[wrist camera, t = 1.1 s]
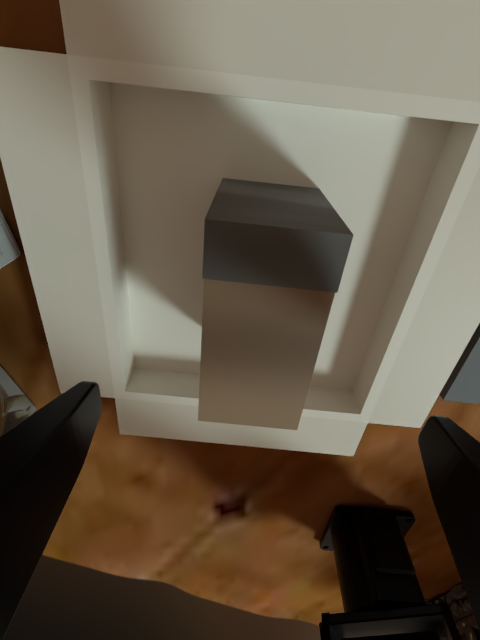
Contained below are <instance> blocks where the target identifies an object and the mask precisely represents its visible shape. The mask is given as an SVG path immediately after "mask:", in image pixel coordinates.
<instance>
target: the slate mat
mask: <svg viewBox="0 0 480 640" xmlns="http://www.w3.org/2000/svg"><path fill="white" fill-rule="evenodd" d="M440 396H441V398H442V399H443V400H446V401H456V402H466V403H476V404H480V323H479V325H478V327H477V328H476V330H475V332H474V334H473V335H472V337H471V339H470V341H469V343H468V344H467V346H466V348H465V350H464V351H463V353H462V355H461V357H460V359H459V360H458V362H457V364H456V366H455V367H454V369H453V371H452V373H451V375H450V376H449V378H448V380H447V382H446V383H445V385H444V387H443V389H442V390H441V392H440Z"/></svg>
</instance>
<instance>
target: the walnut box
mask: <svg viewBox="0 0 480 640" xmlns="http://www.w3.org/2000/svg"><path fill="white" fill-rule="evenodd" d="M352 239H353V233H352V232H351V231H350V229H349V228H348V227H347V225H346V224H345V223H344V221H343V220H342V219H341V217H340V216H339V215H338V213H337V212H336V210H335V209H334V208H333V206H332V205H331V204H330V202H329V201H328V200H327V198H326V197H325V196H324V194H323V193H322V192H321V190H320V189H319V188H310V187H301V186H292V185H283V184H273V183H264V182H255V181H246V180H237V179H228V178H223V179H222V181H221V183H220V185H219V188H218V190H217V192H216V194H215V197H214V199H213V201H212V203H211V206H210V208H209V210H208V212H207V215H206V217H205V223H204V248H203V273H202V279H204V292H203V315H202V338H201V361H200V384H199V406H198V421H206V422H216V423H226V424H237V425H247V426H258V427H268V428H278V429H289V430H297V429H298V425H299V422H300V418H301V414H302V411H303V407H304V404H305V400H306V396H307V393H308V389H309V386H310V382H311V378H312V375H313V371H314V368H315V364H316V360H317V357H318V353H319V349H320V346H321V342H322V339H323V335H324V331H325V328H326V324H327V321H328V317H329V313H330V310H331V306H332V303H333V299H334V295H335V293H337V292H338V289H339V285H340V282H341V278H342V274H343V271H344V267H345V264H346V260H347V257H348V253H349V249H350V246H351V242H352Z"/></svg>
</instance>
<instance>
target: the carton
mask: <svg viewBox="0 0 480 640" xmlns="http://www.w3.org/2000/svg"><path fill="white" fill-rule="evenodd" d="M59 3H60V10H61V17H62V24H63V31H64V39H65V46H66V53H67V54H59V53H51V52H42V51H33V50H25V49H16V48H7V47H0V158H1V162H2V166H3V170H4V174H5V178H6V182H7V186H8V190H9V194H10V197H11V201H12V205H13V209H14V213H15V217H16V221H17V225H18V229H19V233H20V237H21V241H22V244H23V248H24V252H25V256H26V260H27V264H28V268H29V272H30V276H31V280H32V284H33V288H34V291H35V295H36V299H37V303H38V307H39V311H40V315H41V319H42V323H43V327H44V331H45V334H46V338H47V342H48V346H49V350H50V354H51V358H52V362H53V366H54V370H55V374H56V378H57V381H58V385H59V389H60V393H64V392H66V391H67V390H69V389H70V388H72V387H73V386H75V385H76V384H78V383H79V382H81V381H90V382H96V383H98V385H99V389H100V395H101V397H107V398H115V403H116V410H117V418H118V425H119V432H120V434H125V435H135V436H146V437H156V438H167V439H177V440H188V441H198V442H209V443H219V444H230V445H240V446H251V447H261V448H272V449H282V450H293V451H303V452H314V453H324V454H335V455H345V456H354V453H355V451H356V449H357V447H358V444H359V442H360V440H361V437H362V435H363V433H364V430H365V428H366V426H367V424H368V423H374V424H385V425H395V426H405V427H416V428H421V426H422V424H423V422H424V421H425V419H426V417H427V415H428V414H429V412H430V410H431V408H432V406H433V405H434V403H435V401H436V399H437V398H438V396H439V394H440V392H441V390H442V389H443V387H444V385H445V383H446V382H447V380H448V378H449V376H450V375H451V373H452V371H453V369H454V367H455V366H456V364H457V362H458V360H459V359H460V357H461V355H462V353H463V351H464V350H465V348H466V346H467V344H468V343H469V341H470V339H471V337H472V335H473V334H474V332H475V330H476V328H477V327H478V325H479V323H480V0H59ZM223 178H228V179H237V180H246V181H255V182H264V183H273V184H283V185H292V186H301V187H310V188H319V189H320V190H321V192H322V193H323V194H324V196H325V197H326V198H327V200H328V201H329V202H330V204H331V205H332V206H333V208H334V209H335V210H336V212H337V213H338V215H339V216H340V217H341V219H342V220H343V221H344V223H345V224H346V225H347V227H348V228H349V229H350V231H351V232H352V233H353V239H352V242H351V246H350V249H349V253H348V257H347V260H346V264H345V267H344V271H343V274H342V278H341V282H340V285H339V289H338V292H337V293H335V295H334V299H333V303H332V306H331V310H330V313H329V317H328V321H327V324H326V328H325V331H324V335H323V339H322V342H321V346H320V349H319V353H318V357H317V360H316V364H315V368H314V371H313V375H312V378H311V382H310V386H309V389H308V393H307V396H306V400H305V404H304V407H303V411H302V414H301V418H300V422H299V425H298V429H297V430H289V429H278V428H268V427H258V426H247V425H237V424H226V423H216V422H206V421H198V406H199V384H200V361H201V338H202V315H203V292H204V279H202V273H203V248H204V223H205V217H206V215H207V212H208V210H209V208H210V206H211V203H212V201H213V199H214V197H215V194H216V192H217V190H218V188H219V185H220V183H221V181H222V179H223Z"/></svg>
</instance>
